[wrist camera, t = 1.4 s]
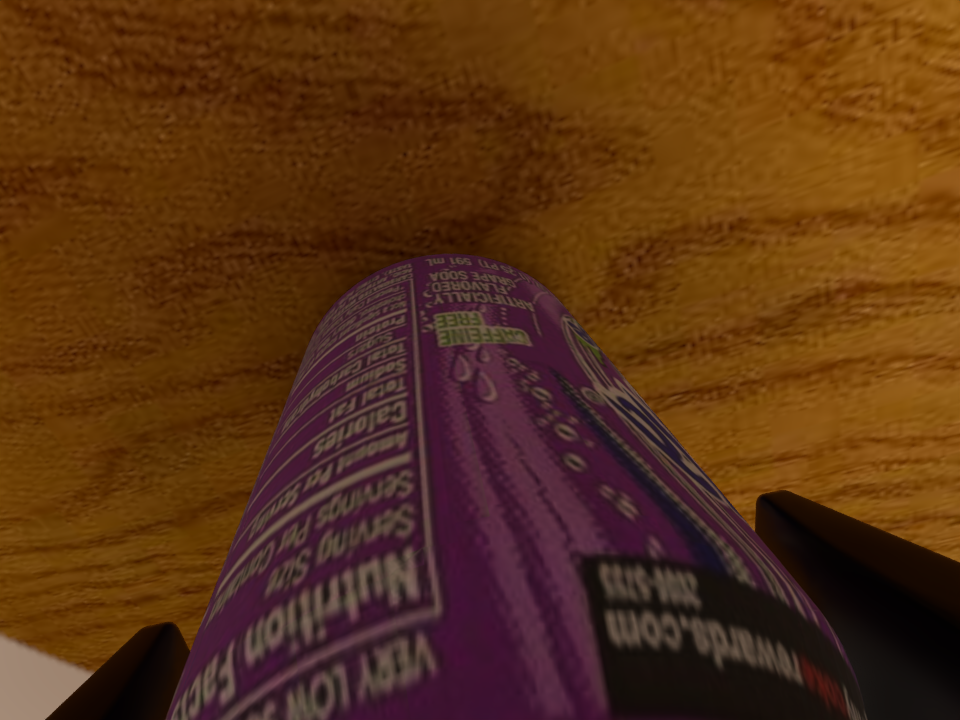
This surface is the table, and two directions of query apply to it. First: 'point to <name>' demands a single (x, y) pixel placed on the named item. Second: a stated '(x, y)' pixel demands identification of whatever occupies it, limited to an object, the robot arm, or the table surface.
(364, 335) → the beverage can
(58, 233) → the table surface
